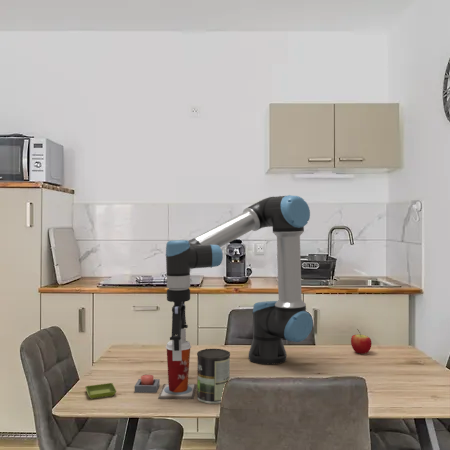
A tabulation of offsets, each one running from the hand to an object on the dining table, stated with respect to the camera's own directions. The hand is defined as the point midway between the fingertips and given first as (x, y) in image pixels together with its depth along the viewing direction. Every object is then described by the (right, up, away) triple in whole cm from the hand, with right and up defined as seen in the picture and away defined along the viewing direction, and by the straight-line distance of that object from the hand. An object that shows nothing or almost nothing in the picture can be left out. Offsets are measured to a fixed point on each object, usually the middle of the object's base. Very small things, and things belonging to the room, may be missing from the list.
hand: (179, 354), depth 155 cm
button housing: (-11, -12, +3) cm, 17 cm away
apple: (+72, -12, +47) cm, 86 cm away
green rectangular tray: (-25, -13, -2) cm, 28 cm away
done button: (-11, -11, +3) cm, 16 cm away
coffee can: (+11, -13, -5) cm, 17 cm away
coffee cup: (0, -12, 0) cm, 12 cm away
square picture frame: (0, -12, 0) cm, 12 cm away
